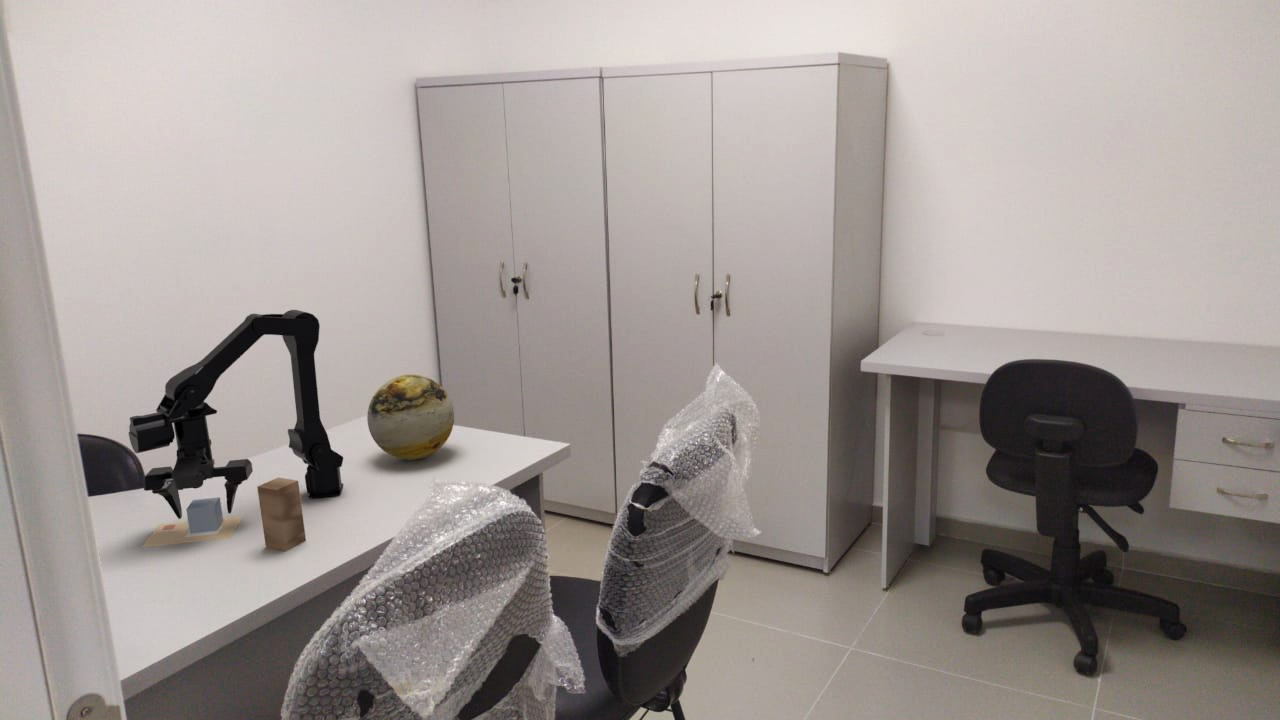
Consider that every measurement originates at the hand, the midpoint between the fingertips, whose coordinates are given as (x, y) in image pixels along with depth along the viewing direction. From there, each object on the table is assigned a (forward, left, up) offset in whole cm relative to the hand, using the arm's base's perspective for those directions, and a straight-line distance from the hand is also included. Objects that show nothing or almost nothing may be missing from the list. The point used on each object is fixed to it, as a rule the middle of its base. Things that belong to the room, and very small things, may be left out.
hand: (205, 515), depth 181 cm
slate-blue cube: (0, 0, -2) cm, 2 cm away
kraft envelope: (+2, +2, -3) cm, 4 cm away
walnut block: (-17, +13, -2) cm, 21 cm away
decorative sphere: (-39, -31, -3) cm, 50 cm away
